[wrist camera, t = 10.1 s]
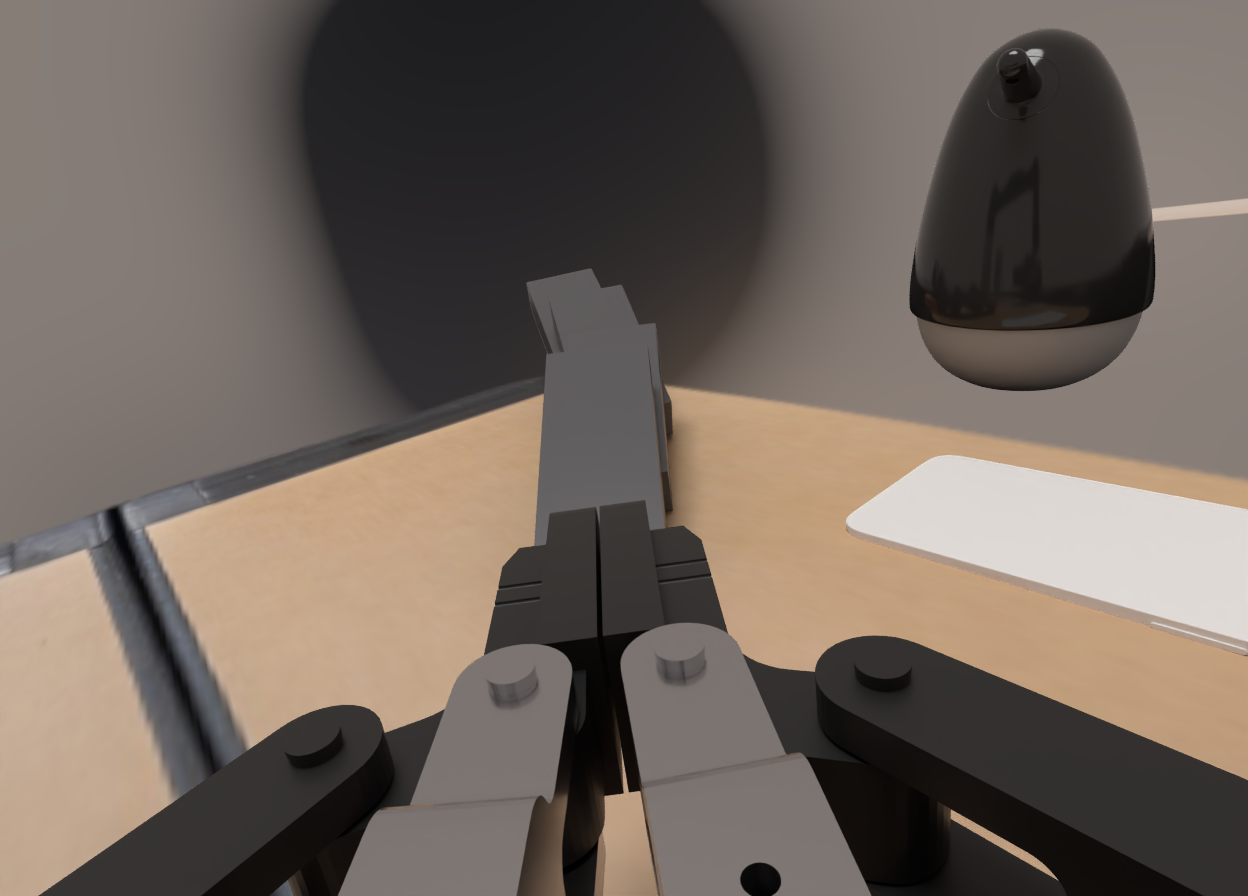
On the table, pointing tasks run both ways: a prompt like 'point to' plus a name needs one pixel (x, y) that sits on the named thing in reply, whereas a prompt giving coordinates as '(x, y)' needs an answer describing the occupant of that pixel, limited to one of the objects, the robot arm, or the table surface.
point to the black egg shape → (1035, 221)
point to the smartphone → (1075, 542)
